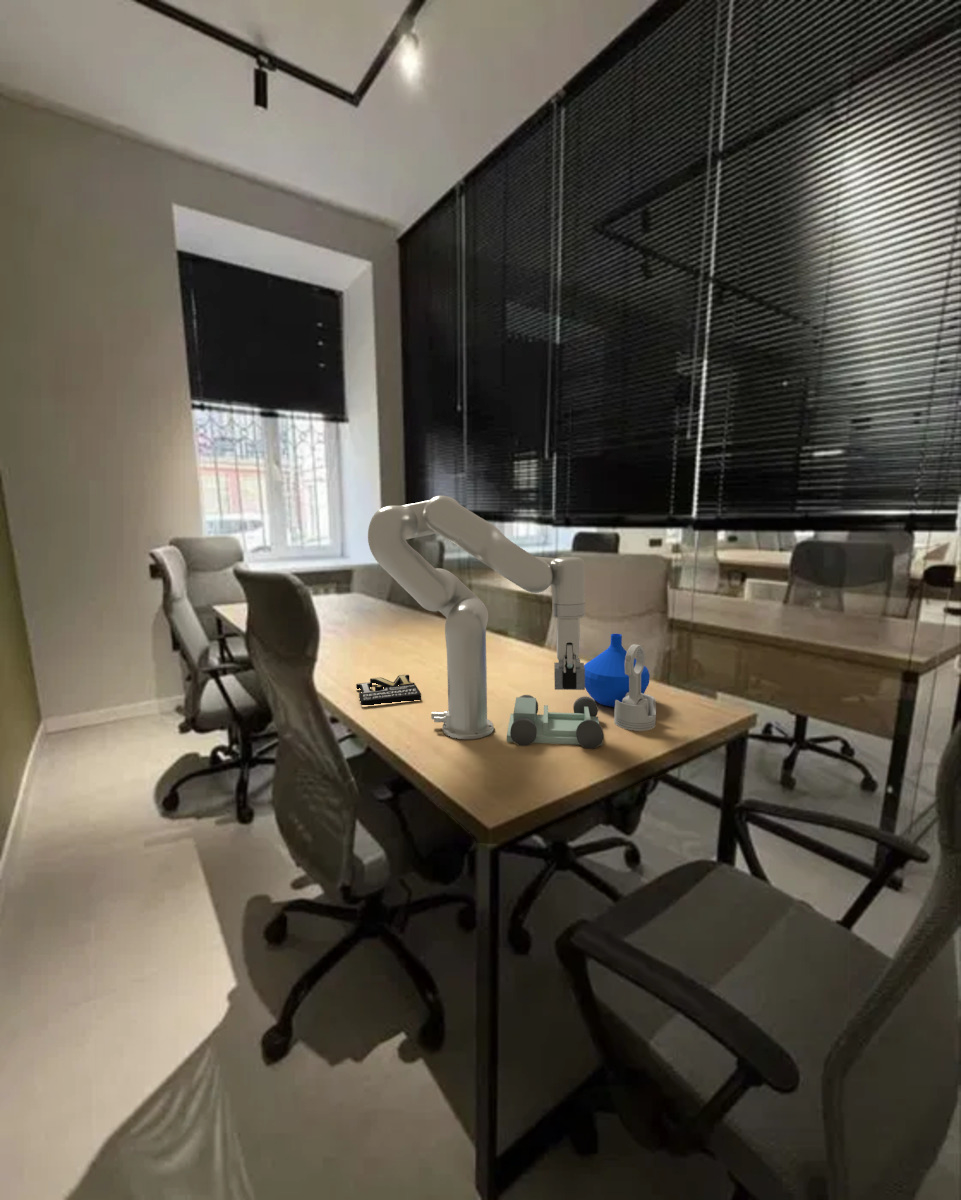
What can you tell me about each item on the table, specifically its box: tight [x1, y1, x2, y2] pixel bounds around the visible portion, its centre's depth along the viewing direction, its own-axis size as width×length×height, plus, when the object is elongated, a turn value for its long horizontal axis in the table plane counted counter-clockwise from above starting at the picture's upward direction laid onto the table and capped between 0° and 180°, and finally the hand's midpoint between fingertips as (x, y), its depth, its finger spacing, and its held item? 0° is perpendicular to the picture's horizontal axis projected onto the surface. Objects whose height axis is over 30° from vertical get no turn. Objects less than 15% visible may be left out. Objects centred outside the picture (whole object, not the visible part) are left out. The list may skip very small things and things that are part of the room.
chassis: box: [506, 694, 605, 749], centre depth 134 cm, size 22×18×6 cm
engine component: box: [613, 643, 657, 732], centre depth 137 cm, size 11×20×10 cm
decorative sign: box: [355, 674, 422, 706], centre depth 164 cm, size 17×2×20 cm
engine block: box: [553, 657, 586, 691], centre depth 131 cm, size 7×6×6 cm
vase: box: [584, 633, 650, 708], centre depth 153 cm, size 18×18×19 cm
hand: (569, 683), depth 132 cm, fingers closed on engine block, 5 cm apart
